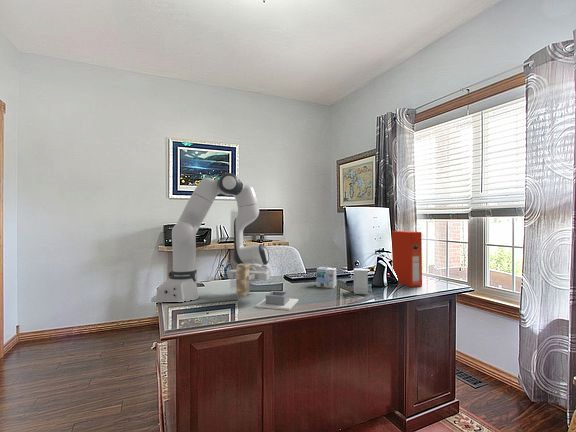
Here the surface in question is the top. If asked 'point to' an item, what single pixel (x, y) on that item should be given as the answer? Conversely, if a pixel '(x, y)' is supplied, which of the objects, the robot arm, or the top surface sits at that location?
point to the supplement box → (360, 281)
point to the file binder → (407, 257)
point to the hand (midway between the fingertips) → (242, 277)
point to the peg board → (277, 301)
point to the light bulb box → (326, 277)
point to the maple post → (242, 279)
